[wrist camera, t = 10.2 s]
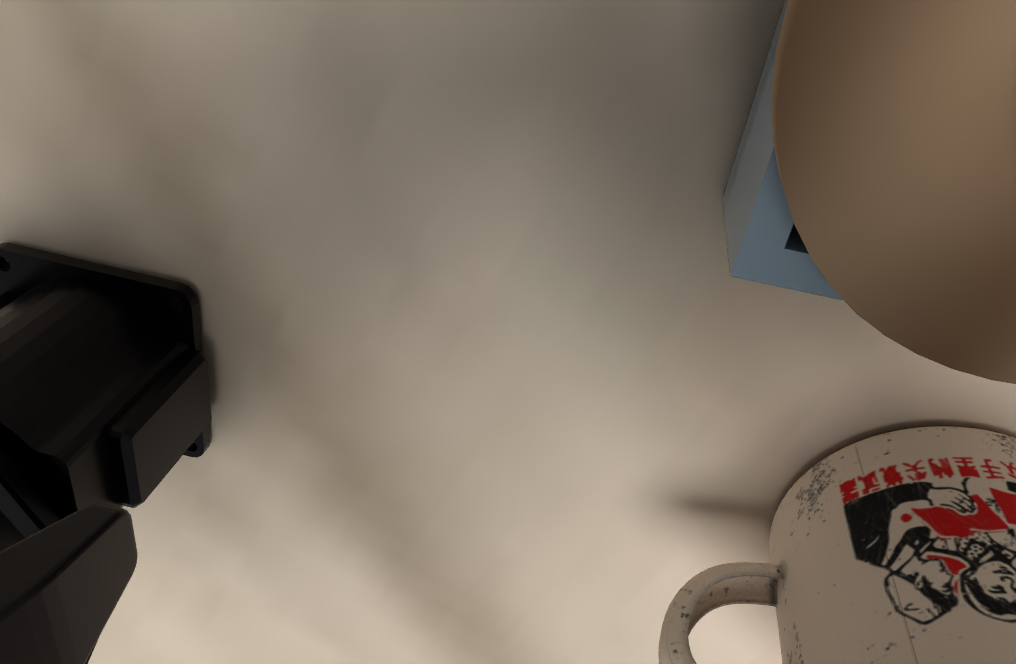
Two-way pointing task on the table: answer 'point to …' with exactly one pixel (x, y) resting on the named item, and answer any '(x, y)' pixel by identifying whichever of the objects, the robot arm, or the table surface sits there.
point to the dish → (765, 205)
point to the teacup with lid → (882, 557)
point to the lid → (907, 167)
